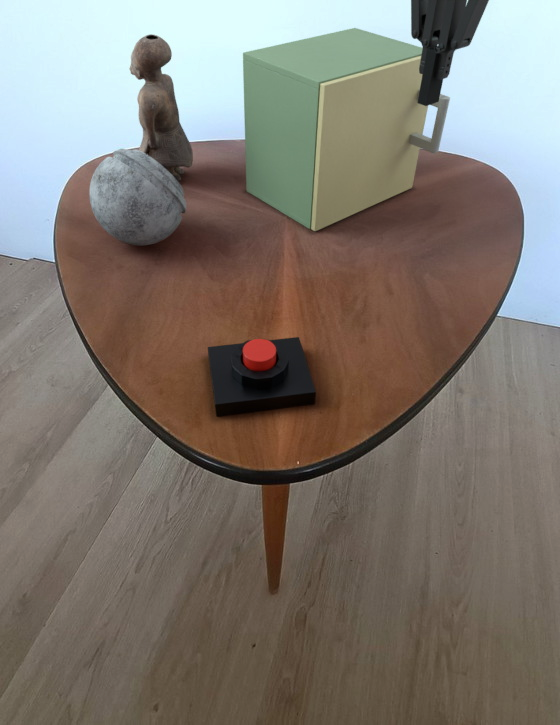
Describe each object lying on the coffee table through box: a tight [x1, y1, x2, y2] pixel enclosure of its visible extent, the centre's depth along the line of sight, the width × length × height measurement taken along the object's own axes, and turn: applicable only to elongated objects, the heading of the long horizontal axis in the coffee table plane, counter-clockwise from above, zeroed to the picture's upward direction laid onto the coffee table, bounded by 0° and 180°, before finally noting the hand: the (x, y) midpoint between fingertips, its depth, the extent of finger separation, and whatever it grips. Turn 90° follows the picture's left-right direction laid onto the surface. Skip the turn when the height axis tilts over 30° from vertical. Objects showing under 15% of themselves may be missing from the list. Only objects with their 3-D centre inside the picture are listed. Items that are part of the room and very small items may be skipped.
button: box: [243, 338, 276, 372], centre depth 67 cm, size 4×4×2 cm
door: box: [310, 56, 451, 232], centre depth 92 cm, size 7×26×24 cm, turn 130°
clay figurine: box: [128, 34, 194, 182], centre depth 101 cm, size 13×10×25 cm
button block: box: [207, 336, 317, 417], centre depth 68 cm, size 12×10×4 cm
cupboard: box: [242, 27, 423, 230], centre depth 99 cm, size 18×26×24 cm
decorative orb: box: [88, 148, 188, 246], centre depth 88 cm, size 15×14×15 cm
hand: (428, 102), depth 75 cm, fingers closed
